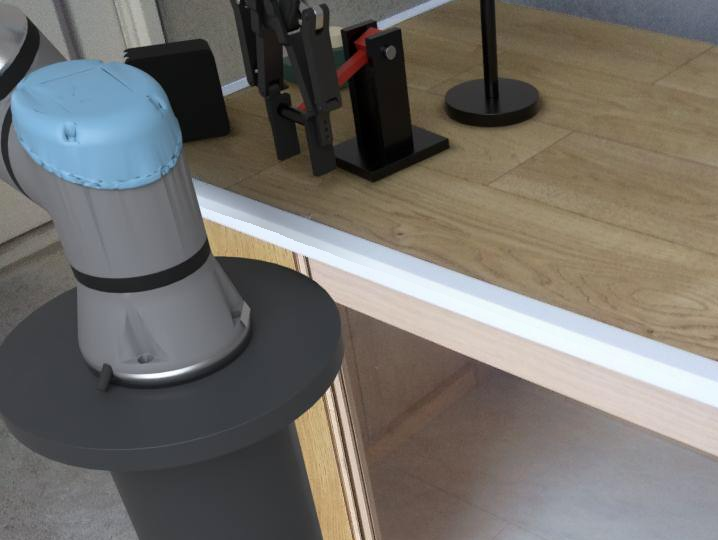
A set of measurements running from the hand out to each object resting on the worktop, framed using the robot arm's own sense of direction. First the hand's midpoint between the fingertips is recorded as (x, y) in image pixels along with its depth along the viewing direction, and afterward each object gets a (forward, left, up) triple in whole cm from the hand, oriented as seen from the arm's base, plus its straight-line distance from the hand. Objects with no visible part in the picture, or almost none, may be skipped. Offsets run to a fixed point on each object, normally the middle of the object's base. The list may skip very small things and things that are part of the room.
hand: (307, 163), depth 109 cm
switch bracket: (+11, 0, -3) cm, 12 cm away
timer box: (+24, +25, -3) cm, 35 cm away
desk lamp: (+29, 0, -3) cm, 29 cm away
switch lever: (+6, 0, +6) cm, 9 cm away
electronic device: (-1, +23, -3) cm, 23 cm away
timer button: (+24, +25, +1) cm, 35 cm away
